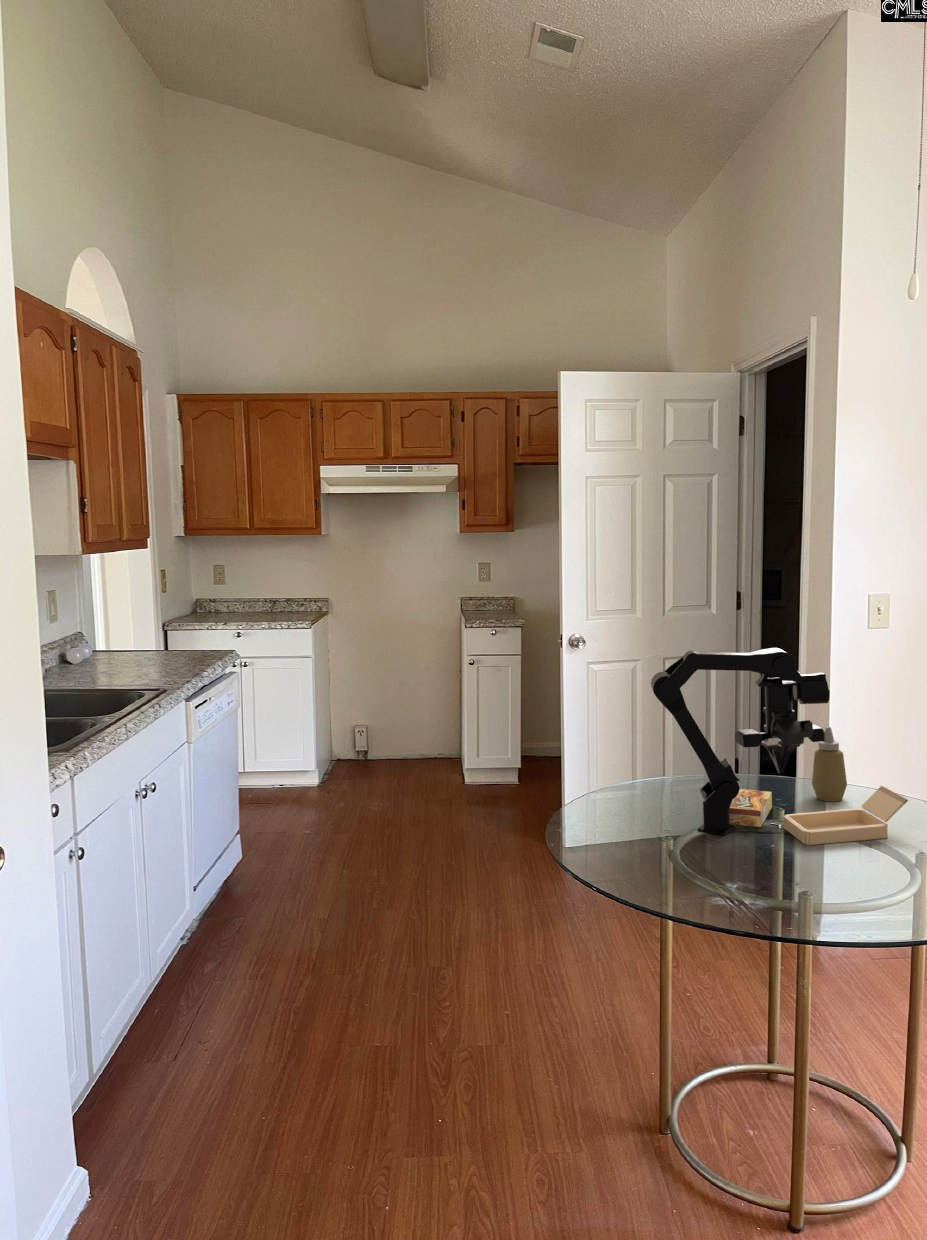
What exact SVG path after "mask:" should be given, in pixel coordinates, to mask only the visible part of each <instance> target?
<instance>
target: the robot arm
mask: <svg viewBox="0 0 927 1240" xmlns="http://www.w3.org/2000/svg"><path fill="white" fill-rule="evenodd" d="M794 665H795V663H794V658H793V657H792V655H790V653H788V652H787V651H784V650H783V649H781V648H778V647H770V648H762V649H758V650H755V651H750V652H728V651H727V652H722V651H719V652H717V651H714V652H713V651H695V650H688V651H686V652H685V653H684V654H683V656H681V657H680V658H679V659H678V660H676V661H675V662H674V663H672V664H671V665H669V666H668V667H667V668H666V669H665V670H664V671H660V672H656V673H655V674H654V675H653V676H652V678H651V679H650V680H651V681H650V687H651V690H652V692H653V694H654V696H655V697H656V699H657V700H658V701H659V702H660V703H661V704H662V705H663V707H664V708H665V709H666V710H667V711H668V712H669V713H670V714H671V715H672V716H673V717H674V719H675V721H676V723H677V724H678V726H679V728H680V730H681V731H682V732H683V735H684V736H685V738H686V739H687V741H688V743H689V744H690V746H691V748H692V749H693V751H694V753H695V754H696V756H697V758H698V759H699V761H700V762H701V764H702V767H703V770H704V772H705V775H706V778H707V780H708V781H707V782H706V783H705V784H704V785H703V786H702V787H701V788H700V789H699V792H700V794H701V796H702V799H703V800H704V801H702V815H703V818H702V819H703V824H702V825H700V826H699V827H697V831H698V832H702V833H708V834H713V835H719V836H726V835H727V834H729V833H730V832H731V831H733V830H734V829H735V828H736V825H735V824H729V808H730V805H731V802H732V800H733V799H734V798H735V797H736V796H737V795H738V793H739V790H740V789H741V787H740V785H739V782H740V781H741V779H740V778H739V776H738V775H737V773H736V772H735V770H733V768H732V765H731V763H730V762H729V760H728V758H726V757H725V758H724V759H723V760H721V759H720V758H719V757H718V756H717V755H716V754H715V752H714V750H713V749H712V747H711V745H710V744H709V741H708V740H707V739H706V737H705V735H704V734H703V732H702V731H701V729H700V727H699V725H698V724H697V722H696V720H695V719H694V717H693V716H692V713H691V712H690V711H689V709H688V706H687V704H686V701H685V698H684V695H683V693H682V690H681V688H682V687H683V686H684V685H685V684H686V683H687V681H689V679H690V678H691V677H692V676H693V675H694V674H695V673H696V672H697V671H739V672H740V671H743V672H744V671H745V672H753V673H757V674H761V676H760V677H759V678H758V679H757V680H756V681H754V682H755V685H756V686H758V687H759V688H764V698H765V700H764V702H765V703H764V704H765V707H762V708H763V709H762V710H763V713H765V724H764V725H763V730H764V731H765V732H758V731H756V730H755V729H753V728H746V729H737V730H736V731H735V734H734V742H735V743H736V744H738V745H739V746H741V747H742V748H757V747H760V745H761V746H763V747H765V749H766V750H767V752H768V753H769V755H770V758H771V760H772V762H773V764H774V767H775V769H776V771H777V773H778V774H783V773H784V772H785V769H786V767H787V763H788V762H789V759H790V756H791V754H792V752H793V751H794V750H795V749H796V748H798V747H800V746H801V745H804V743H805V738H808V740H809V741H810V742H812V743H818V742H821V741H825V729H823V727H820V726H818V725H816V724H814V723H813V722H812V721H811V720H810V719H808V720H798V719H797V717H796V715H797V714H796V710H794V709H793V699H794V700H795V701H798V702H799V704H800V705H810V704H811V705H813V704H815V705H816V704H817V705H818V704H819V705H821V704H829V701H830V693H831V692H830V689H829V684H828V681H827V676H826V675H827V674H825V673H824V672H816V673H806V674H805V673H803V674H802V673H801V672H799V671H798V670H797V668H796V667H795V666H794ZM767 676H770V677H767ZM782 678H787V679H788V680H783V679H782ZM793 697H794V698H793Z"/></svg>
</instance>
